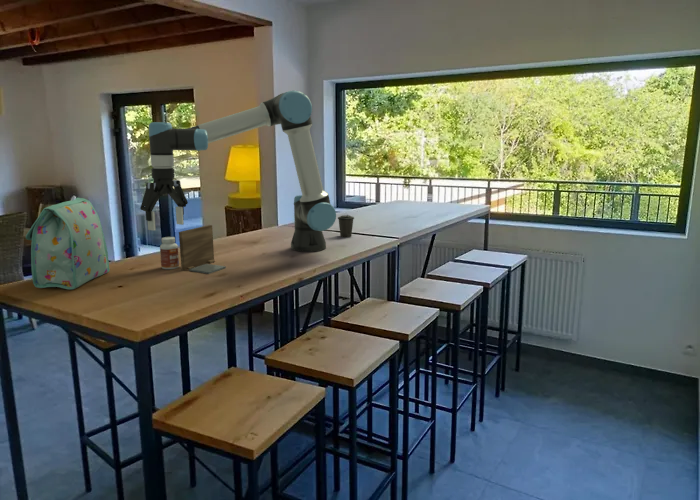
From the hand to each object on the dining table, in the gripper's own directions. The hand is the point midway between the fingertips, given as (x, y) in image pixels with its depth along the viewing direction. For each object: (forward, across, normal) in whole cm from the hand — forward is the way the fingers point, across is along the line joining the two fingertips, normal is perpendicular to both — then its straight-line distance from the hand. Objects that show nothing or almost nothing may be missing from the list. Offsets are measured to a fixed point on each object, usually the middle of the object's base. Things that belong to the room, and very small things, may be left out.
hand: (166, 227), depth 183 cm
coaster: (+15, -4, +14) cm, 21 cm away
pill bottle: (+15, 0, 0) cm, 15 cm away
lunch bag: (+16, +27, -16) cm, 35 cm away
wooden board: (+15, -7, +7) cm, 18 cm away
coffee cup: (+14, -82, +32) cm, 90 cm away
